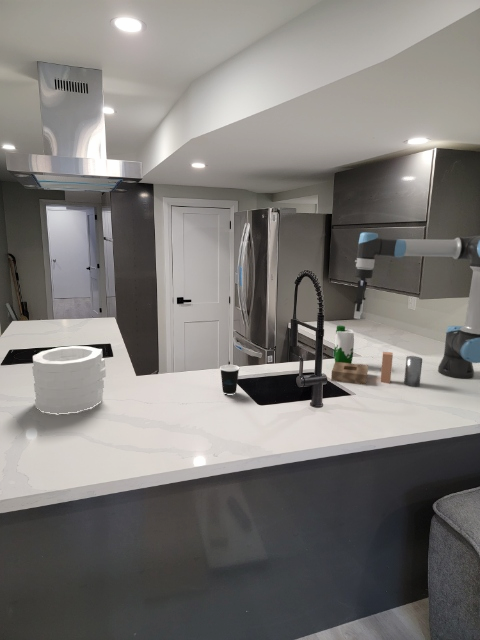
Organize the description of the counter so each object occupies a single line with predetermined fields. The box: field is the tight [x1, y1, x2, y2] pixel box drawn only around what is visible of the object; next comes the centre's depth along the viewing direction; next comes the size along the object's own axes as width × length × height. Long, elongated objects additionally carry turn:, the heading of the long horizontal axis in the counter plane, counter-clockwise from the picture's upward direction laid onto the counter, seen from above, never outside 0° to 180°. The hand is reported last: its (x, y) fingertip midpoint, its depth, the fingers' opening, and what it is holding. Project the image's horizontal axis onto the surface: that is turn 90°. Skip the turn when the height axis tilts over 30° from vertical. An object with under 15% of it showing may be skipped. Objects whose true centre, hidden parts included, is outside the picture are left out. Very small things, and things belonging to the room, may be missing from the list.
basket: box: [32, 345, 107, 414], centre depth 155 cm, size 25×24×19 cm
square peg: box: [380, 351, 394, 384], centre depth 183 cm, size 4×4×13 cm
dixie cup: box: [219, 364, 241, 394], centre depth 166 cm, size 8×8×11 cm
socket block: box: [330, 361, 369, 386], centre depth 189 cm, size 15×15×4 cm
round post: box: [403, 355, 423, 388], centre depth 180 cm, size 6×6×12 cm
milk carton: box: [334, 325, 355, 364], centre depth 205 cm, size 9×9×20 cm
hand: (357, 316), depth 184 cm, fingers open, 13 cm apart
